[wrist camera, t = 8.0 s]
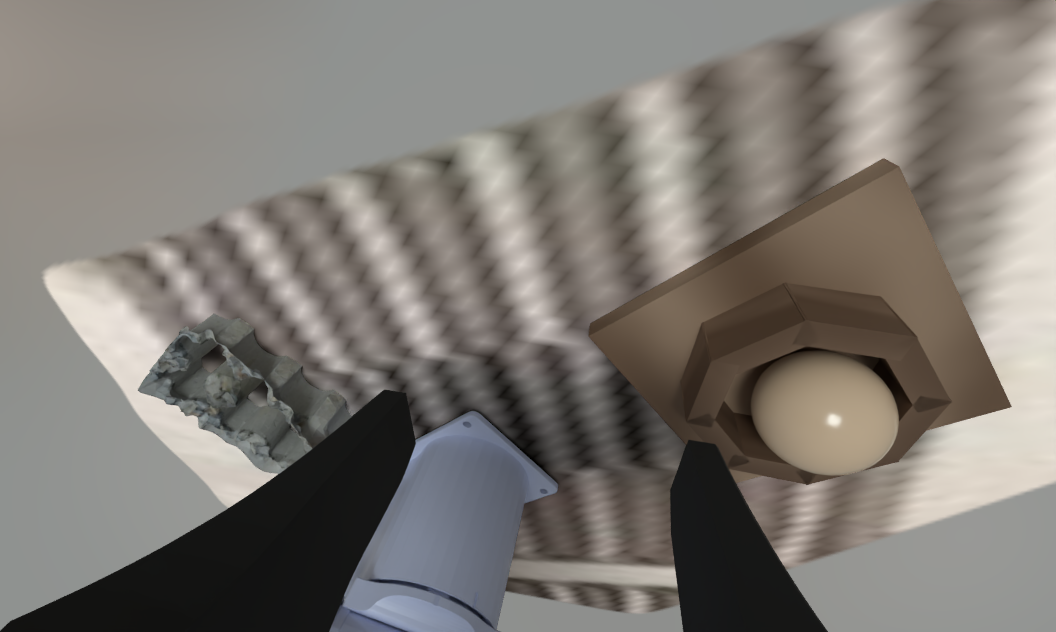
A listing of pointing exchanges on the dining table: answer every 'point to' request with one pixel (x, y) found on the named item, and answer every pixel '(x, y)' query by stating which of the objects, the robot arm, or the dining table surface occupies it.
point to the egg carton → (245, 394)
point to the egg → (824, 412)
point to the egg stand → (807, 323)
